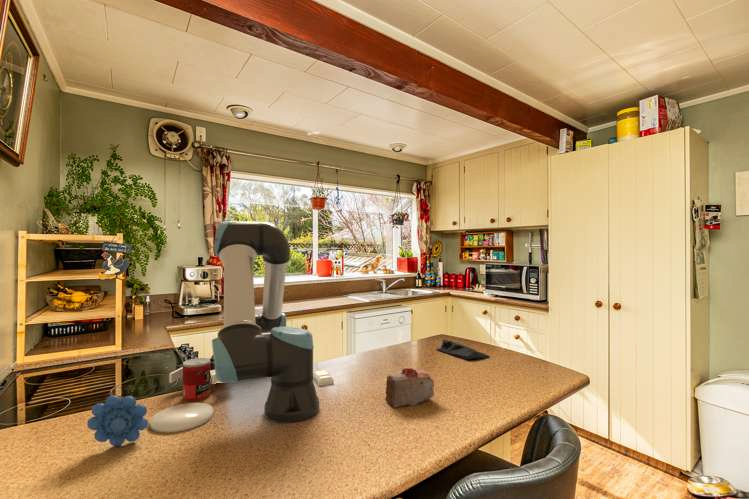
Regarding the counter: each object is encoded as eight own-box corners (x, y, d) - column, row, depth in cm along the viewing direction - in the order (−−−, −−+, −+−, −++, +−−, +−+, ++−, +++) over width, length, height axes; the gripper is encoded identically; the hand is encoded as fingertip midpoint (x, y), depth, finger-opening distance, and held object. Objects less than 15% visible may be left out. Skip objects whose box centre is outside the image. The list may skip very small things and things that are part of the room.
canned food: (199, 402, 108) (199, 365, 108) (176, 400, 110) (176, 364, 110) (215, 392, 116) (215, 358, 116) (194, 390, 117) (194, 357, 117)
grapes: (84, 462, 77) (84, 406, 77) (88, 448, 83) (88, 396, 83) (148, 447, 83) (148, 395, 83) (148, 434, 89) (148, 385, 89)
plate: (224, 414, 100) (224, 410, 100) (170, 438, 87) (170, 433, 87) (192, 402, 108) (192, 398, 108) (138, 423, 95) (138, 418, 95)
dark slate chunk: (464, 363, 146) (464, 352, 146) (433, 350, 166) (433, 340, 166) (493, 359, 153) (493, 347, 153) (460, 346, 173) (460, 336, 173)
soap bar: (325, 376, 131) (325, 369, 131) (333, 385, 123) (333, 377, 123) (312, 378, 129) (312, 371, 129) (319, 387, 121) (319, 379, 121)
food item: (421, 392, 115) (421, 362, 115) (436, 402, 108) (436, 369, 108) (383, 400, 109) (383, 368, 109) (396, 411, 102) (396, 376, 102)
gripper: (258, 369, 130) (230, 392, 109) (192, 368, 132) (152, 390, 111) (258, 348, 130) (230, 367, 109) (192, 347, 132) (152, 365, 111)
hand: (191, 378), depth 110 cm, fingers open, 13 cm apart
